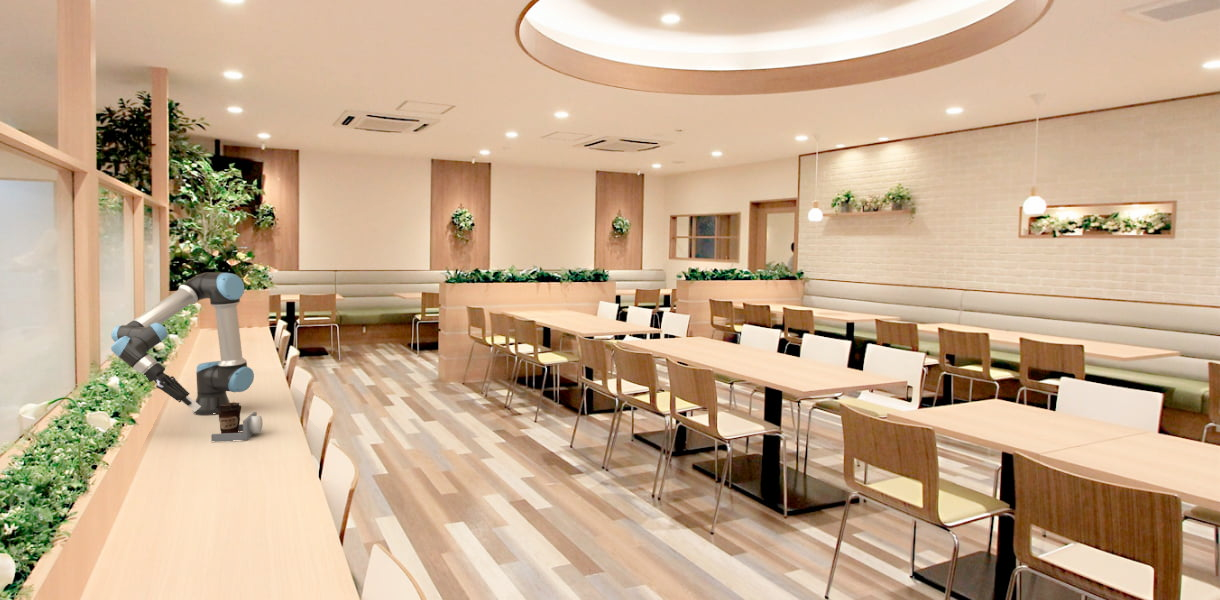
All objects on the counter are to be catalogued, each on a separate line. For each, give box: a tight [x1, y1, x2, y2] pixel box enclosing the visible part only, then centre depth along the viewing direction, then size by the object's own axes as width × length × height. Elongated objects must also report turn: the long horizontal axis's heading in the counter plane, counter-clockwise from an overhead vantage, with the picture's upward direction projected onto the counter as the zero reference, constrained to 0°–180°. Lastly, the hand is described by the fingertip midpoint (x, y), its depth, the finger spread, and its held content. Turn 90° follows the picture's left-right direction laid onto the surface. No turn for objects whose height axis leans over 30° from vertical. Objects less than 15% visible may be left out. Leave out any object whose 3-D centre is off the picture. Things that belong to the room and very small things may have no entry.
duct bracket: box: [210, 411, 264, 442], centre depth 289 cm, size 15×16×8 cm
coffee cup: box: [218, 402, 242, 434], centre depth 289 cm, size 9×8×13 cm
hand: (197, 409), depth 285 cm, fingers closed
